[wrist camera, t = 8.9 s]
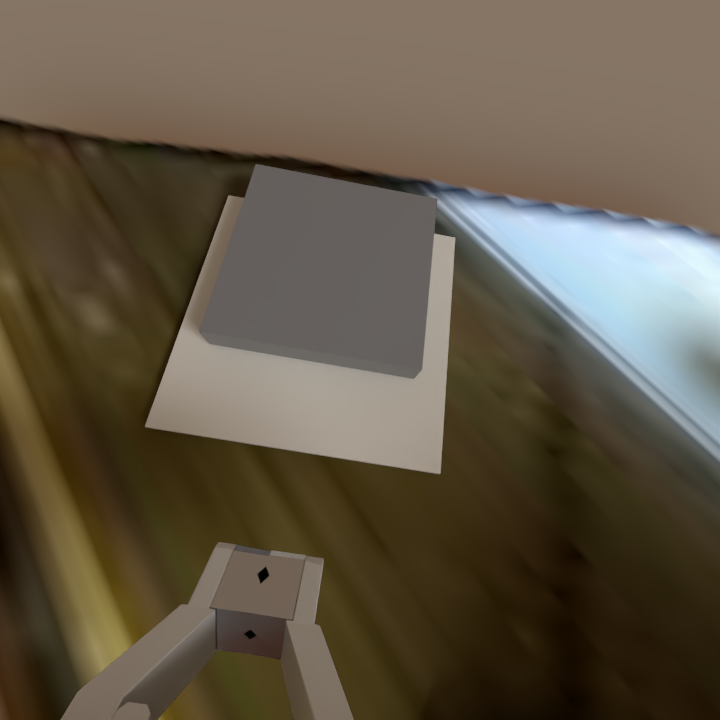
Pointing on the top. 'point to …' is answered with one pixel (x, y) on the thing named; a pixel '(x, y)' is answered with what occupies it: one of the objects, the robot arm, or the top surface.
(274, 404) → the beige mat
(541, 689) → the top surface
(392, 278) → the slate tile
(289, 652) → the robot arm
